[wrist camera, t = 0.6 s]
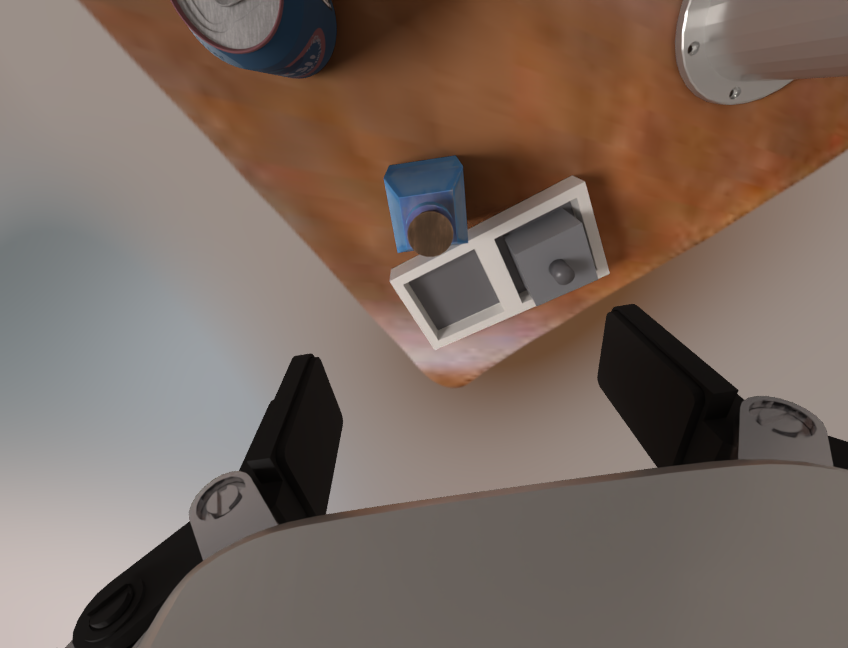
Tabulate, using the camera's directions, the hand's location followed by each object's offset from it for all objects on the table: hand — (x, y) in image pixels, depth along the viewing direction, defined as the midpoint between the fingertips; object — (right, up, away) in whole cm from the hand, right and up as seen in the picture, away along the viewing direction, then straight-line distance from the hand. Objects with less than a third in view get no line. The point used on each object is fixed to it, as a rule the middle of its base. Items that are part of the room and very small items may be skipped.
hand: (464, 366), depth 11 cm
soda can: (-11, +25, +16) cm, 31 cm away
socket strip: (+6, +8, +26) cm, 28 cm away
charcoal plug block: (+11, +9, +24) cm, 28 cm away
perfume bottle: (-1, +14, +23) cm, 27 cm away
